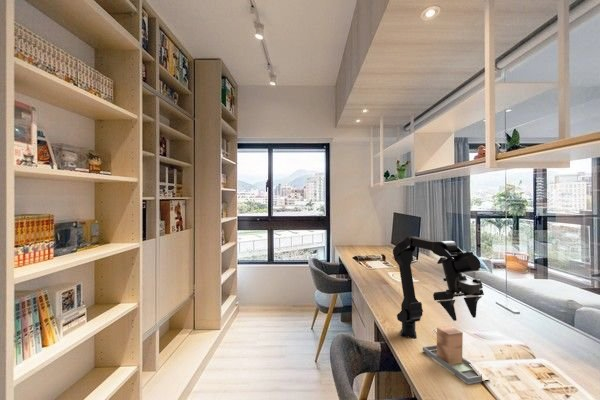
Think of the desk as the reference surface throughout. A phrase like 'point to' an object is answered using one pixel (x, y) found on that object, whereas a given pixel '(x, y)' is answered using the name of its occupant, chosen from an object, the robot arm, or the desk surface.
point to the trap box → (455, 367)
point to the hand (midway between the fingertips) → (464, 319)
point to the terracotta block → (449, 344)
